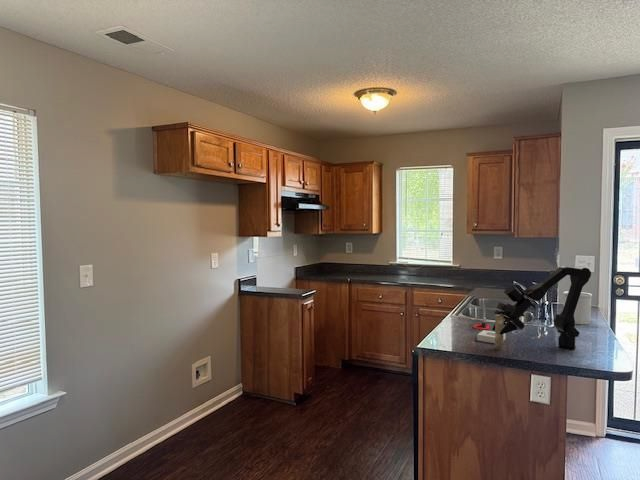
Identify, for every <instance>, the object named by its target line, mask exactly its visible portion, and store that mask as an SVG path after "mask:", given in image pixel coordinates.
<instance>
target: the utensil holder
mask: <svg viewBox="0 0 640 480" xmlns="http://www.w3.org/2000/svg"><path fill="white" fill-rule="evenodd" d="M568 292H569V290H568V291H563V293H562V294H563V306H564V305H565V302H566V299H567V296H568ZM592 297H593V294H592V293H589V292H582V291H581V294H580V297H579V300H578V303H577V306H576V310H575V313H574V319H575V325H590V322H591V317H592V316H591V315H592V314H591V313H592Z"/></svg>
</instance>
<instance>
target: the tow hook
mask: <svg viewBox="0 0 640 480" xmlns="http://www.w3.org/2000/svg"><path fill="white" fill-rule="evenodd" d="M482 306H483V307H482V322H481V323H477V324H474V325H473V327H472V328H473V329H474V328H475V329H474V330H478V329H480V331H483V330H486V331H489V329H490V328H491V325H490V324H487V321H486V305H485V304H483V305H482ZM482 326H483V327H482Z"/></svg>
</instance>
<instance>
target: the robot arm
mask: <svg viewBox="0 0 640 480" xmlns="http://www.w3.org/2000/svg"><path fill="white" fill-rule="evenodd" d="M567 276H569V279H570V285H569V286H570V287H569V289H568V291H569V292H568V296H567V299H566V302H565V305H564V304H563V308H562V311H561V313H560V314H558V313H556V314H555V319H553V322H554V324H553V325H554V326H555V327H554V328H555V329H556V330H557V333H559V336H558V347H559V348H561V349H567V350H575V349H576V348H577V345H576V341H577V340H576V338H579V336H580V331H579V330H578V329H577V328H576V327H575V325H576V324H575V319H574V313H575V310H576V306H577V303H578V300H579V297H580V294H581V292H582V290H583V288H584V286H585V285H587V283H588V282H589V280H591V276H592V271H591V270H590V269H589V268H588V267H584V266H574V267H570V266H564V265H560V266H558V267H557V268H556V269H555V270H554V271H553V272H552V273H550V274H549V275H548V276H547V277H545V278H544V279H543V280H542V281H540V282H539V283H536V284H532V285H530V286H529V287H527V288H526V289H522V288H520V286H519V285H518V284H516V283H513V285H509V286H508V287H506V288H505V290H504V294H505V295H506V296H507V298H509V299H510V301H512V302H513V303H514V304H513V305H512V304H511V303H506V304H505V303H502V302H498V304H497V306H496V310H495V311H494V312H493V313H494V314H495V316H496V315H504V327H503V329H502V330H501V331H500V334H501V335H502V334H505V333H506V334H508V333H510V332H514V331H518V330H521V331H522V330H523V329H525V323H523V321H522V320H521V319H520V318H521V317H523V318H524V317H525V313H526V312H527V311H528V310H529V309H530V308H531V309H534V310H535V309H536V303H535V302H539V301H541V300H542V299H543V298H544V297H545V296H546V294H547V292H548V291H549V290H551V288H552V287H554V286H555V285H556V284H557V283H559V282H561V280H563V279H564V278H565V277H567ZM534 301H535V302H534ZM491 331H493V332H495V323H494V324H493V326H492V329H491Z"/></svg>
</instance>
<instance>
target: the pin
mask: <svg viewBox="0 0 640 480" xmlns="http://www.w3.org/2000/svg"><path fill="white" fill-rule="evenodd" d="M494 320H495V322H494V324H495V331H494V332H495V343H494V350H497V351H498V350H499V351H503V350H504V341H503V334H502V335H501V334H500V331H501V330H502V329H503V327H504V326H505V325H504V315H496V314H495V319H494Z"/></svg>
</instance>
